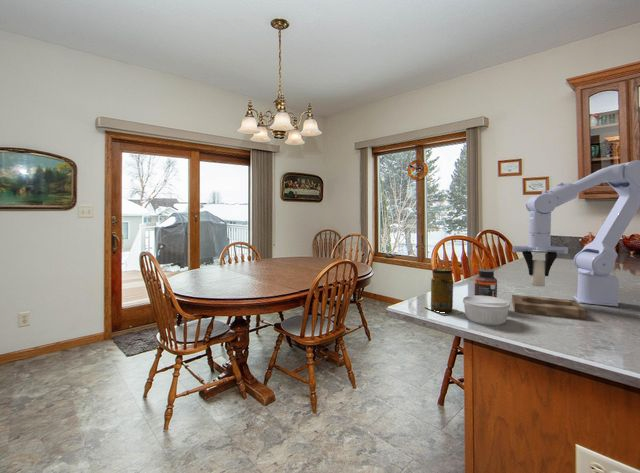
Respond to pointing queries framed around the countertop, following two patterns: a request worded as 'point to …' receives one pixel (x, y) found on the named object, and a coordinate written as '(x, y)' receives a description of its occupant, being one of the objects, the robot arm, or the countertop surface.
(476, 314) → the ramekin
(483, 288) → the supplement bottle
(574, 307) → the keyhole board
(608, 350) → the countertop surface
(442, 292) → the condiment
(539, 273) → the cream peg
